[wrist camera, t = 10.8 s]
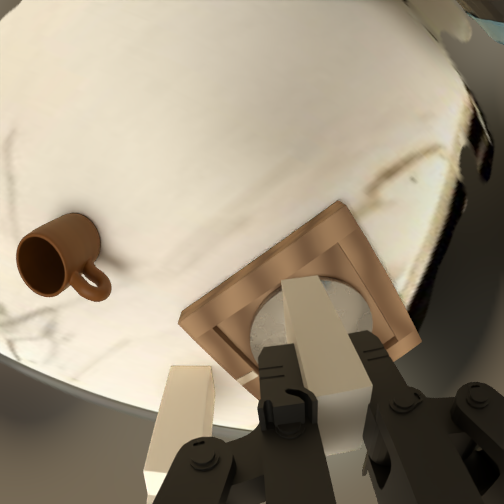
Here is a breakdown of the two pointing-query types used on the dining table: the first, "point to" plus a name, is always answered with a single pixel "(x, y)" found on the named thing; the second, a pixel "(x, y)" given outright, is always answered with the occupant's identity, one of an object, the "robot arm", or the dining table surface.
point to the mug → (63, 258)
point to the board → (296, 266)
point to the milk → (179, 420)
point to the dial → (273, 322)
